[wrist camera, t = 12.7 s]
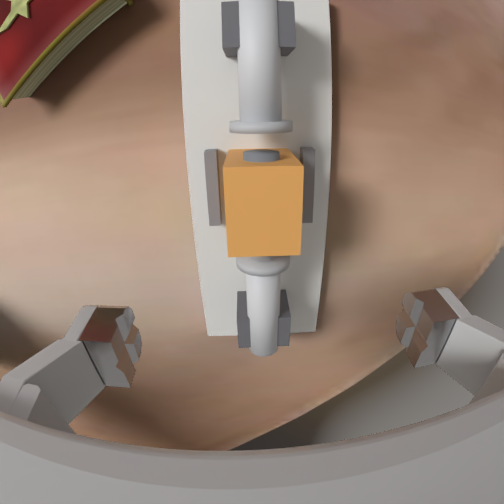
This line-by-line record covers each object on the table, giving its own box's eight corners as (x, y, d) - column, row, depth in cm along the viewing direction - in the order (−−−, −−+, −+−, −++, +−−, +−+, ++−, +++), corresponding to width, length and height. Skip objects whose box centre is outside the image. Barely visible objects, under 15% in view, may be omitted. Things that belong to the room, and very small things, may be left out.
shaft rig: (313, 324, 29) (325, 369, 23) (209, 328, 28) (203, 374, 23) (324, 1, 15) (349, -27, 10) (182, 2, 15) (163, -27, 10)
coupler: (286, 220, 22) (299, 261, 17) (232, 222, 22) (228, 263, 17) (287, 142, 20) (303, 158, 14) (228, 143, 20) (222, 159, 14)
